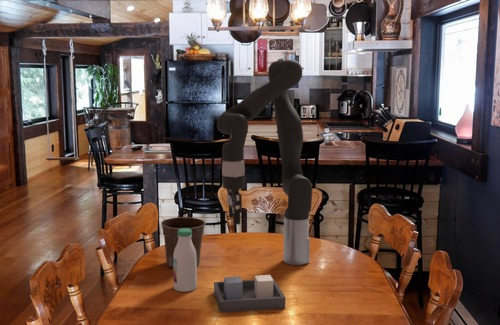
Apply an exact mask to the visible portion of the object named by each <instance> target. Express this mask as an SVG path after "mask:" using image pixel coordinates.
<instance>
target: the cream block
mask: <svg viewBox="0 0 500 325" xmlns="http://www.w3.org/2000/svg"><path fill="white" fill-rule="evenodd" d="M273 279H274V278H273V277H272V275H271V274H264V275H261V274H260V275H254V280H255V295H256V298H267V297H273V282H274V281H273Z"/></svg>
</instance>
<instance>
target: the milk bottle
mask: <svg viewBox="0 0 500 325" xmlns="http://www.w3.org/2000/svg"><path fill="white" fill-rule="evenodd" d="M191 237H192V230H191V229H188V228H182V229H179V230H178V243H177V245H176V247H175V250H174V255H173V267H172V271H173V272H172V274H173V275H172V278H173V279H172V280H173V282H172V283H173V289H174V290H175V291H176V292H183V293H186V292H188V293H189V292H192V291H194V290H196V288H197V287H198V286H197V285H198V276H197V275H198V273H197V272H198V270H197V269H198V266H197V258H196V250H195V248H194V246H193V243H192V240H191Z"/></svg>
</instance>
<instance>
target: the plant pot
mask: <svg viewBox="0 0 500 325" xmlns="http://www.w3.org/2000/svg"><path fill="white" fill-rule="evenodd" d="M160 226H161V228H162V234H163V237H164V247H165V248H164V249H165V250H164V251H165V259H166V260H165V262H166V266H167V267H168V268H173V255H174V250H175V247H176V245H177V243H178V230H179V229H182V228H188V229H191V230H192V237H191V240H192V243H193V246H194V248H195V250H196V258H197V267H199V265H200V262H201V261H200V260H201V251H202V250H201V249H202V241H203V235H204V231H205V230H204V229H205V226H206V221H205V220H203V219H201V218H197V217H192V216H191V217H188V216H181V217H180V216H179V217H178V216H177V217H176V216H175V217H170V218H166V219H163V220H162V221H161V222H160Z"/></svg>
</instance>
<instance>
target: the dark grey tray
mask: <svg viewBox="0 0 500 325" xmlns="http://www.w3.org/2000/svg"><path fill="white" fill-rule="evenodd" d="M272 279H273V281H274V282H273V297H267V298H256V295H255V279H244V280H243V279H241V280H242V282H243V299H235V300H226V299H225V297H224V280H223V281H214V282H213V295H214V296H215V300H216V304H217V307H218V311H219V313H221V314H223V313H224V314H225V313H236V312H237V313H239V312H254V311H255V312H256V311H266V310H284V309H286V297H285V295H284V293H283V291H282V289H281V288H280V286H279V284H278V283H277V281H276V280H275V278H272Z"/></svg>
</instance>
